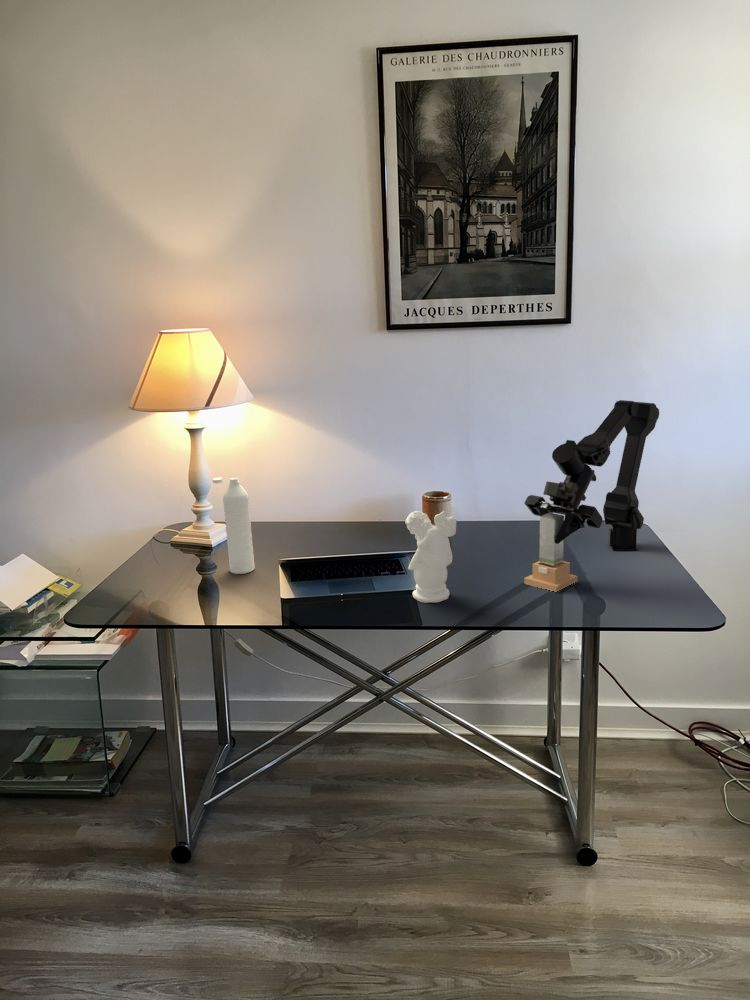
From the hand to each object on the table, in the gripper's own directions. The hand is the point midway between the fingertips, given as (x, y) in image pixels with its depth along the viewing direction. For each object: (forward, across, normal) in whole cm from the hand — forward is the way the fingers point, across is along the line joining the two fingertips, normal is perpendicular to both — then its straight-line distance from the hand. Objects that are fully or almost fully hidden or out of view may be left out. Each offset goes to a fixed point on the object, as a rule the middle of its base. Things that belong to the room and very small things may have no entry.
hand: (548, 541), depth 187 cm
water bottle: (+38, -68, -22) cm, 81 cm away
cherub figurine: (+23, -16, -7) cm, 29 cm away
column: (+3, 0, +5) cm, 6 cm away
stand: (+7, 0, +9) cm, 11 cm away
